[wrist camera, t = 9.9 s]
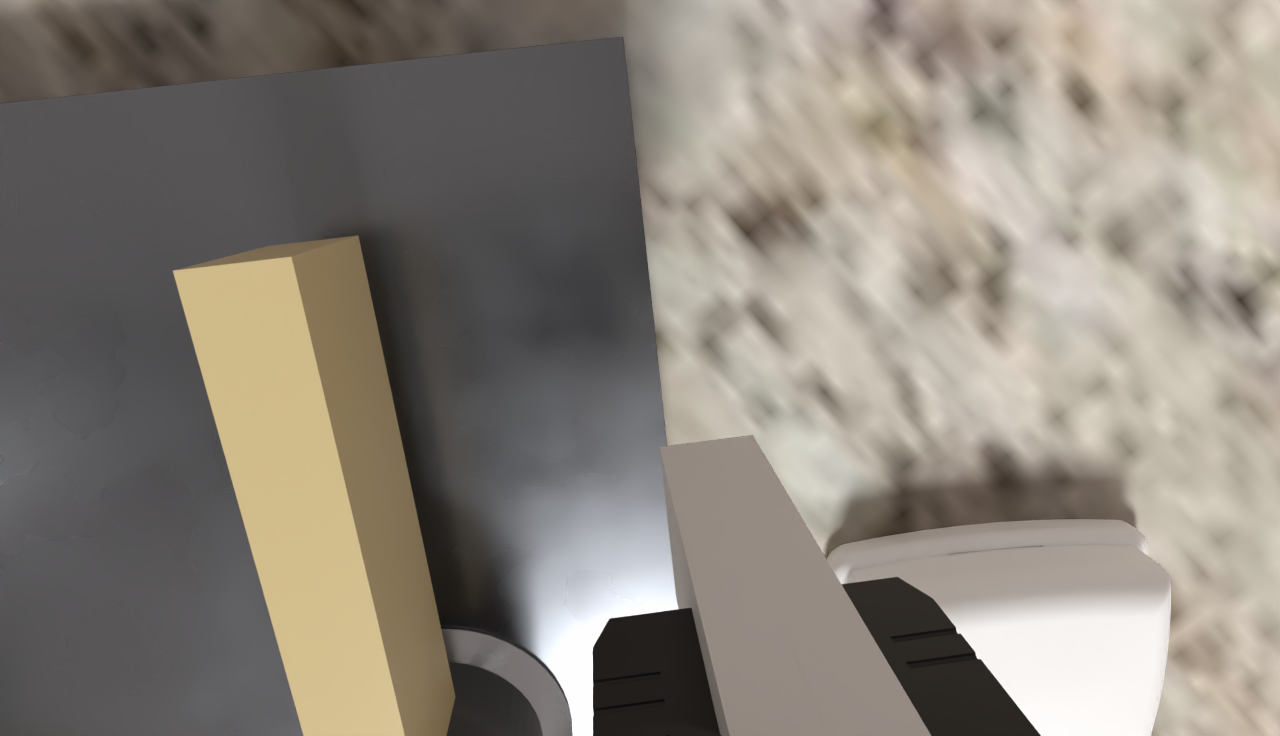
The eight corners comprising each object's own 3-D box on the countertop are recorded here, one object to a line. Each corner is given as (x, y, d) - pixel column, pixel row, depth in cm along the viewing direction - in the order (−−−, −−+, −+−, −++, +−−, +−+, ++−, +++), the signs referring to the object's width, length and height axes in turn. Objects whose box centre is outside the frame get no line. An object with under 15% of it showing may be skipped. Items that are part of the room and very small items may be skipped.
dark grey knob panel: (-357, 898, 20) (-465, 982, 18) (-816, 151, 14) (-1043, 148, 12) (693, 740, 21) (705, 802, 19) (612, 1, 16) (617, -23, 14)
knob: (555, 808, 18) (548, 1020, 14) (367, 837, 18) (296, 1061, 14) (452, 221, 14) (394, 247, 10) (211, 249, 14) (39, 288, 10)
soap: (811, 742, 22) (845, 827, 19) (813, 531, 20) (851, 591, 17) (1108, 712, 22) (1183, 790, 19) (1136, 503, 20) (1223, 557, 18)
